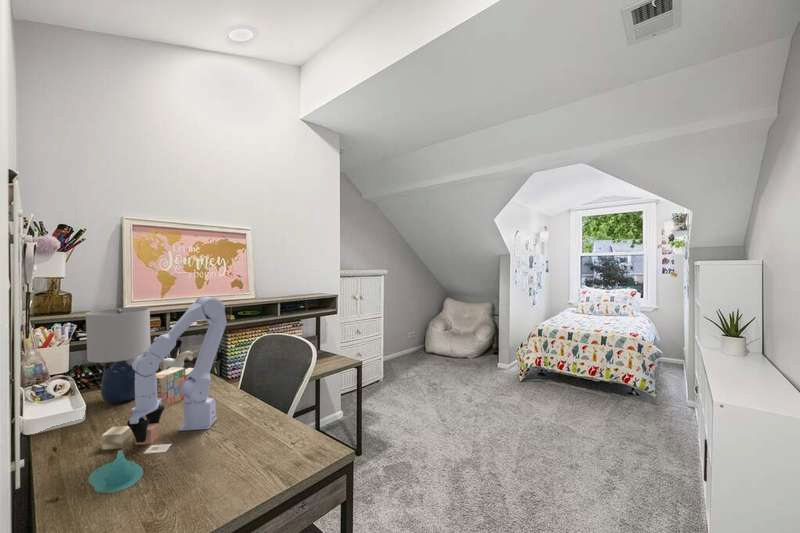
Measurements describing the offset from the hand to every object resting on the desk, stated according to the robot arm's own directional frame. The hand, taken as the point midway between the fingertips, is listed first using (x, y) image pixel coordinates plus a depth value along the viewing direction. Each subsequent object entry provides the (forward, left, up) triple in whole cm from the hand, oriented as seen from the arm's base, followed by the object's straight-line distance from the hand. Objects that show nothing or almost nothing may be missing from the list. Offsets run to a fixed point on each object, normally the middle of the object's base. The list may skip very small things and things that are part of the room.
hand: (147, 436), depth 116 cm
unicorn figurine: (+17, -64, -2) cm, 66 cm away
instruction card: (-6, +6, -1) cm, 9 cm away
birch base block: (+8, +1, -2) cm, 8 cm away
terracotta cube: (0, 0, -2) cm, 2 cm away
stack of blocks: (+7, -36, -2) cm, 37 cm away
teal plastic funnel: (-2, +18, -2) cm, 19 cm away
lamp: (+28, -37, -2) cm, 46 cm away
